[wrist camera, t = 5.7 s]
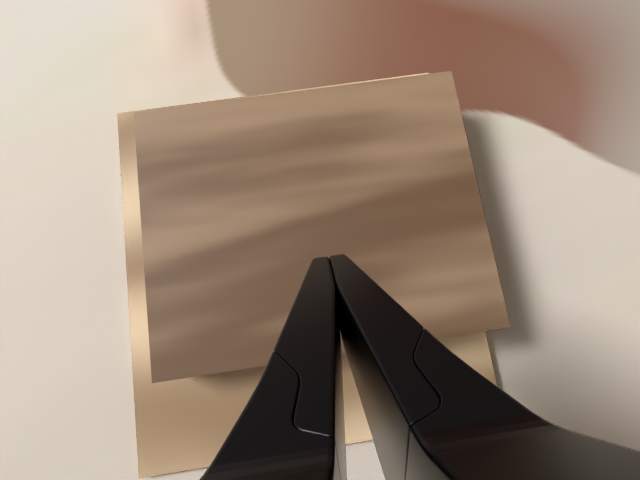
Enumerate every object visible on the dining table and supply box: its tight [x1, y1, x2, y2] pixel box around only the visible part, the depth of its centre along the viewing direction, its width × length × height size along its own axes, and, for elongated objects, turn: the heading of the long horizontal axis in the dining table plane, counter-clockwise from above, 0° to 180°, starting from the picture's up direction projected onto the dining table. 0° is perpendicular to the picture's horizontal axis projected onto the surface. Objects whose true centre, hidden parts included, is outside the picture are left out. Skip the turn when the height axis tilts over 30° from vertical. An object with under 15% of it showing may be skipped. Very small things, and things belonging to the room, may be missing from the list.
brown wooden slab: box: [134, 71, 510, 383], centre depth 17 cm, size 2×15×12 cm
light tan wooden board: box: [117, 73, 497, 478], centre depth 18 cm, size 18×17×1 cm
